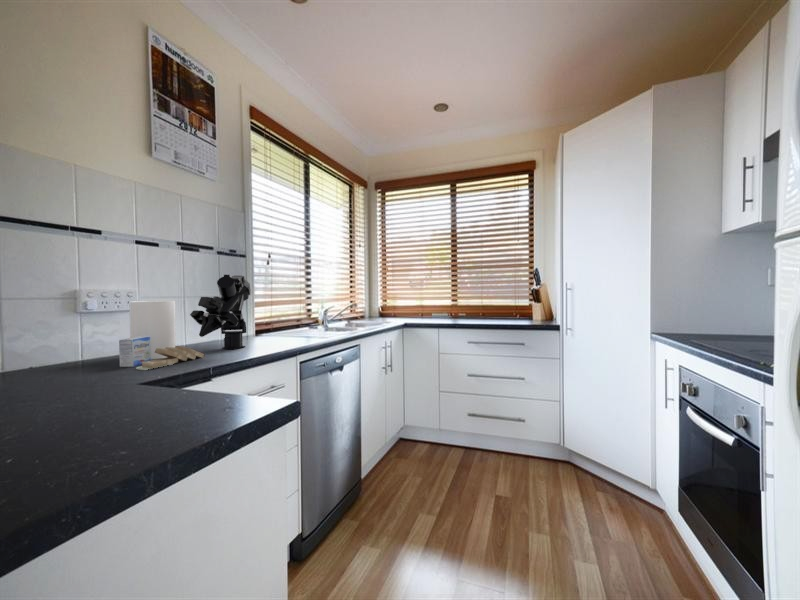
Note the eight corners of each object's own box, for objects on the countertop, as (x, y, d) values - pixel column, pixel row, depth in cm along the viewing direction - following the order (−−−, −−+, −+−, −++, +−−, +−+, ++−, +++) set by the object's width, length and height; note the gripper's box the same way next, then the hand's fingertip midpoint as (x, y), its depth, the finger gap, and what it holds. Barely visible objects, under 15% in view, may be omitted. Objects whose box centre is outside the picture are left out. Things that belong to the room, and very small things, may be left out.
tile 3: (178, 356, 121) (156, 348, 113) (187, 356, 120) (166, 348, 112) (176, 360, 120) (154, 352, 113) (186, 361, 119) (164, 353, 112)
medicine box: (133, 367, 111) (132, 339, 111) (119, 367, 111) (118, 339, 111) (151, 362, 119) (150, 336, 119) (138, 362, 119) (137, 336, 119)
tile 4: (168, 357, 117) (142, 362, 108) (177, 357, 116) (152, 363, 107) (168, 361, 117) (142, 366, 108) (177, 362, 116) (152, 367, 107)
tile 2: (187, 355, 124) (165, 347, 117) (196, 355, 123) (175, 347, 115) (185, 359, 124) (164, 351, 116) (194, 359, 123) (173, 351, 115)
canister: (176, 357, 128) (175, 301, 127) (129, 361, 120) (128, 302, 119) (175, 351, 139) (174, 300, 138) (131, 355, 131) (130, 301, 131)
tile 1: (195, 353, 128) (175, 346, 120) (204, 354, 127) (184, 346, 119) (194, 357, 127) (173, 350, 119) (203, 357, 126) (183, 350, 118)
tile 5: (165, 361, 117) (136, 367, 108) (173, 362, 115) (145, 368, 107) (165, 366, 117) (136, 371, 108) (173, 367, 115) (145, 373, 107)
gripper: (194, 289, 135) (166, 320, 125) (231, 289, 128) (205, 322, 118) (212, 308, 142) (187, 340, 132) (248, 309, 136) (225, 342, 126)
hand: (200, 336), depth 127 cm, fingers closed
